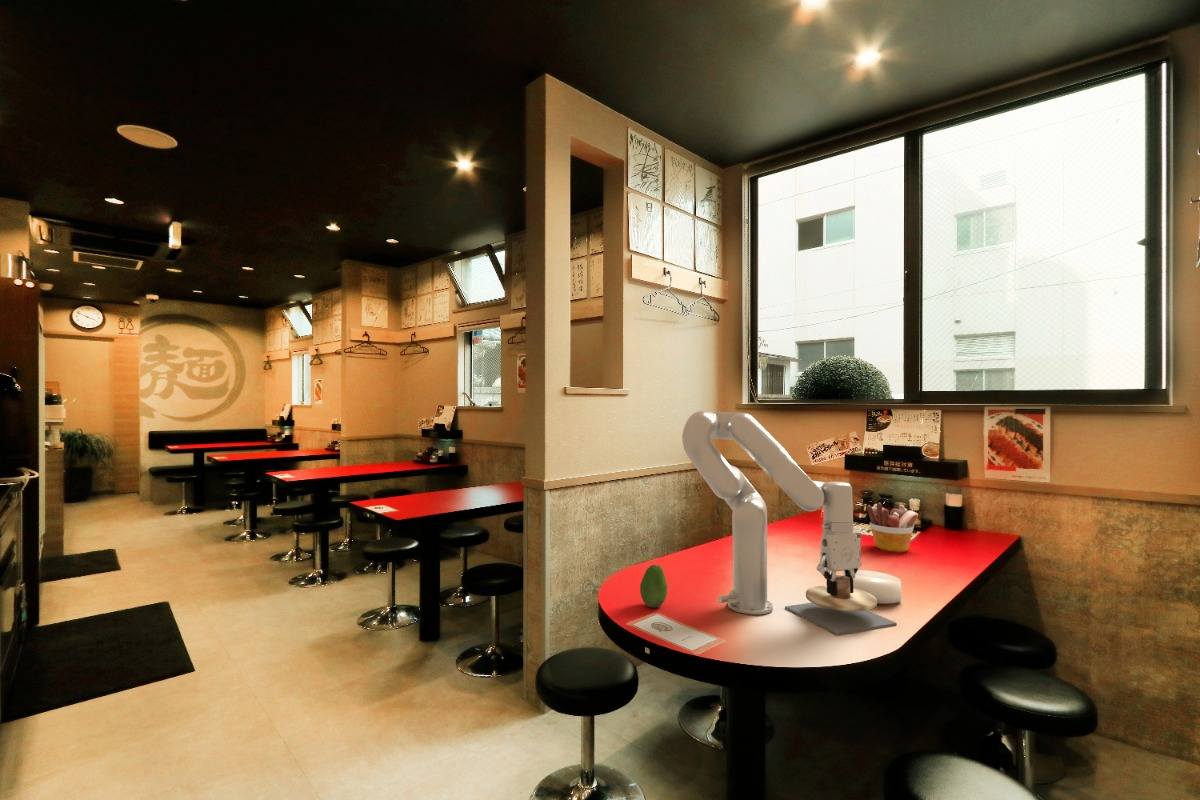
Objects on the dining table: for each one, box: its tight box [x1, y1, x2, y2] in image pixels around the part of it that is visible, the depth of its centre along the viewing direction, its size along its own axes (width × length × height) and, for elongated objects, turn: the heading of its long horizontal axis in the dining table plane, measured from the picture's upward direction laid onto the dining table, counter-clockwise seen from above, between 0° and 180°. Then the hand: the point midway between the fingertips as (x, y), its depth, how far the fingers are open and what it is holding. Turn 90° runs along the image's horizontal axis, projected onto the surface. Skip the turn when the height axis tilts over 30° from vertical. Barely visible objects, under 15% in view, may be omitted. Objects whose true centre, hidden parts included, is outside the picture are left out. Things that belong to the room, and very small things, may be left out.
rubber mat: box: [784, 602, 898, 636], centre depth 151 cm, size 20×20×1 cm
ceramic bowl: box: [842, 569, 902, 604], centre depth 166 cm, size 16×16×6 cm
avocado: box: [639, 564, 668, 608], centre depth 159 cm, size 8×8×12 cm
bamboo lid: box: [805, 574, 878, 611], centre depth 151 cm, size 18×18×6 cm
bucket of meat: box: [866, 502, 919, 552], centre depth 226 cm, size 20×16×20 cm
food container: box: [856, 532, 862, 558], centre depth 208 cm, size 12×6×10 cm, turn 141°
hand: (840, 592), depth 151 cm, fingers closed on bamboo lid, 5 cm apart
